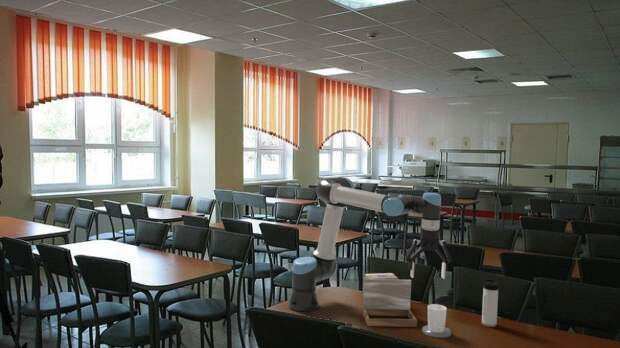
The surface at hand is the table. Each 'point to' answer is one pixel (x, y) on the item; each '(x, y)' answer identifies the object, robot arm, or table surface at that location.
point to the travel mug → (490, 303)
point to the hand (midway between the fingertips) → (427, 277)
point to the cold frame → (388, 302)
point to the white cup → (436, 318)
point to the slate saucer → (436, 335)
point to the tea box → (381, 276)
